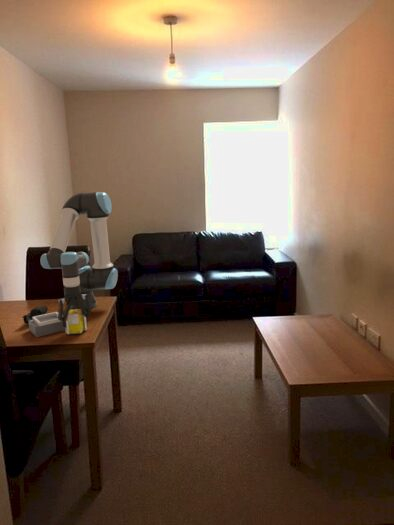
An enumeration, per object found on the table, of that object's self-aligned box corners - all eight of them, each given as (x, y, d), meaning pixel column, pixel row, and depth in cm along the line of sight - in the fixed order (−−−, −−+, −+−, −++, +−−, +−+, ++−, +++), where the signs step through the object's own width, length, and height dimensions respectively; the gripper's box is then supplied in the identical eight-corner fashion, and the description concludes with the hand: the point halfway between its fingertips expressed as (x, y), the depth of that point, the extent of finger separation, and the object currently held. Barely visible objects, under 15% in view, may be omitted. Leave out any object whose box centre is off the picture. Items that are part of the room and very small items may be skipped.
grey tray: (61, 323, 218) (60, 310, 217) (69, 329, 208) (68, 316, 207) (29, 330, 209) (28, 317, 208) (36, 337, 199) (34, 324, 198)
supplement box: (84, 330, 206) (82, 308, 204) (81, 334, 200) (79, 312, 198) (72, 330, 206) (69, 309, 204) (68, 335, 200) (66, 313, 198)
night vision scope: (45, 320, 231) (56, 309, 228) (27, 332, 214) (39, 321, 211) (35, 309, 231) (46, 298, 228) (16, 321, 214) (28, 309, 211)
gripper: (90, 280, 207) (94, 324, 212) (46, 287, 196) (52, 334, 200) (96, 282, 201) (100, 328, 206) (51, 290, 190) (57, 338, 194)
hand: (76, 331), depth 203 cm, fingers closed on supplement box, 8 cm apart
